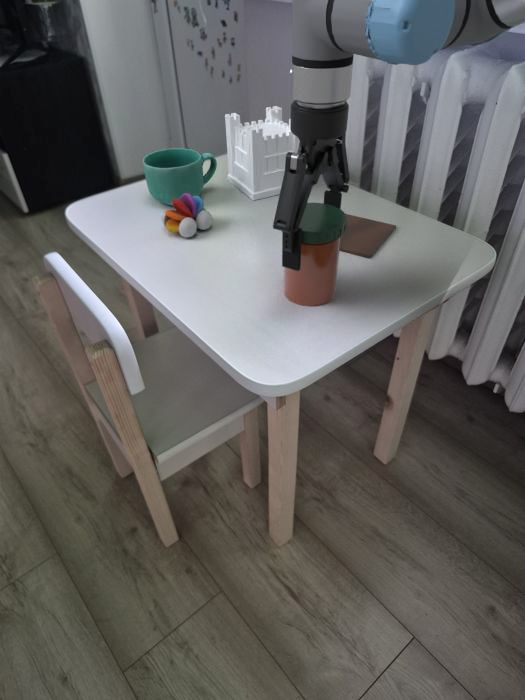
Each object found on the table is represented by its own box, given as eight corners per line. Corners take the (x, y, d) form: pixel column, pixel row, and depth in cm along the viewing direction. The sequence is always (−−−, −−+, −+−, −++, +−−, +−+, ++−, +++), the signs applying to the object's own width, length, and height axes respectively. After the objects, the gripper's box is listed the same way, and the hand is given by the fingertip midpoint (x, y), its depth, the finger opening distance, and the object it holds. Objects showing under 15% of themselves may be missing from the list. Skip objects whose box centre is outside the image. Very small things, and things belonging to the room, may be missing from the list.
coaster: (395, 228, 97) (396, 225, 97) (370, 258, 88) (370, 255, 88) (332, 213, 103) (333, 210, 103) (302, 240, 94) (303, 238, 94)
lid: (327, 250, 68) (328, 238, 67) (268, 233, 72) (267, 221, 71) (356, 222, 74) (357, 211, 73) (299, 208, 79) (300, 197, 77)
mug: (158, 215, 104) (150, 172, 97) (144, 194, 112) (136, 153, 106) (229, 201, 109) (226, 158, 102) (210, 182, 117) (206, 141, 111)
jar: (343, 285, 82) (351, 216, 74) (321, 312, 76) (327, 240, 68) (298, 272, 85) (300, 204, 77) (273, 296, 80) (273, 226, 72)
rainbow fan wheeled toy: (156, 230, 98) (150, 196, 94) (193, 214, 104) (189, 181, 99) (183, 244, 94) (178, 209, 89) (219, 226, 99) (216, 193, 94)
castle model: (253, 200, 109) (251, 131, 99) (227, 179, 118) (222, 114, 108) (306, 187, 114) (309, 120, 104) (277, 168, 123) (277, 105, 113)
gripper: (334, 77, 71) (324, 212, 85) (243, 122, 55) (249, 278, 69) (382, 83, 68) (364, 221, 82) (300, 131, 52) (295, 293, 66)
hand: (311, 248), depth 76 cm, fingers open, 13 cm apart
